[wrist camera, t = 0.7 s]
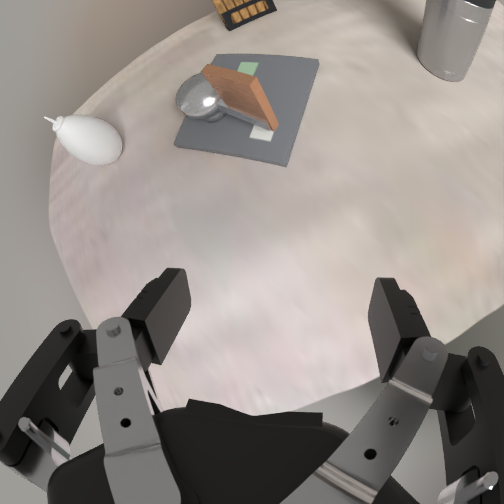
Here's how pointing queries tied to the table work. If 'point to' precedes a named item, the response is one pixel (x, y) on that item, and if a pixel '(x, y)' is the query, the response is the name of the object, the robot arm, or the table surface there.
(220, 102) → the twist collar
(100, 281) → the table surface
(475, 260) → the table surface
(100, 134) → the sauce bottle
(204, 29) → the table surface
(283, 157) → the lock base
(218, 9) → the ammunition clip
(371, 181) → the table surface
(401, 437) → the robot arm
